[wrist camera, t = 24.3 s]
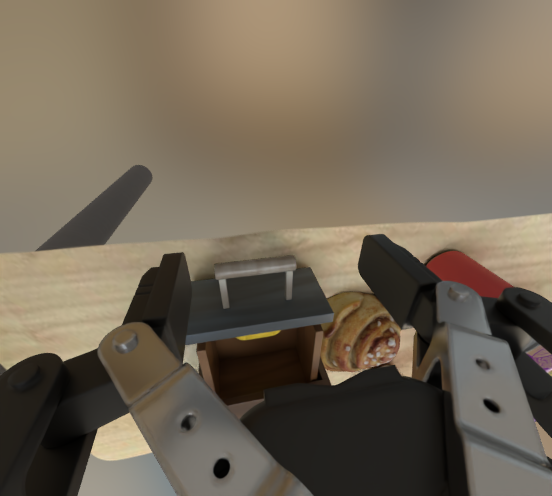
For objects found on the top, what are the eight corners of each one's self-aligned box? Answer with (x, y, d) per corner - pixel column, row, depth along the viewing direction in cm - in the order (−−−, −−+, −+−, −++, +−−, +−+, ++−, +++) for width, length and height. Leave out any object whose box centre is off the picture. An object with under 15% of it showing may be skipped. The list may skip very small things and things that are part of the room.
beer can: (454, 282, 37) (541, 353, 27) (413, 290, 36) (487, 366, 26) (469, 244, 34) (576, 309, 24) (424, 252, 33) (515, 323, 23)
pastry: (406, 304, 39) (446, 348, 32) (336, 361, 43) (359, 411, 36) (355, 265, 32) (392, 310, 26) (279, 337, 36) (294, 392, 30)
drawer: (181, 242, 24) (168, 291, 18) (313, 229, 27) (341, 270, 21) (208, 358, 34) (206, 416, 28) (304, 342, 36) (321, 393, 30)
